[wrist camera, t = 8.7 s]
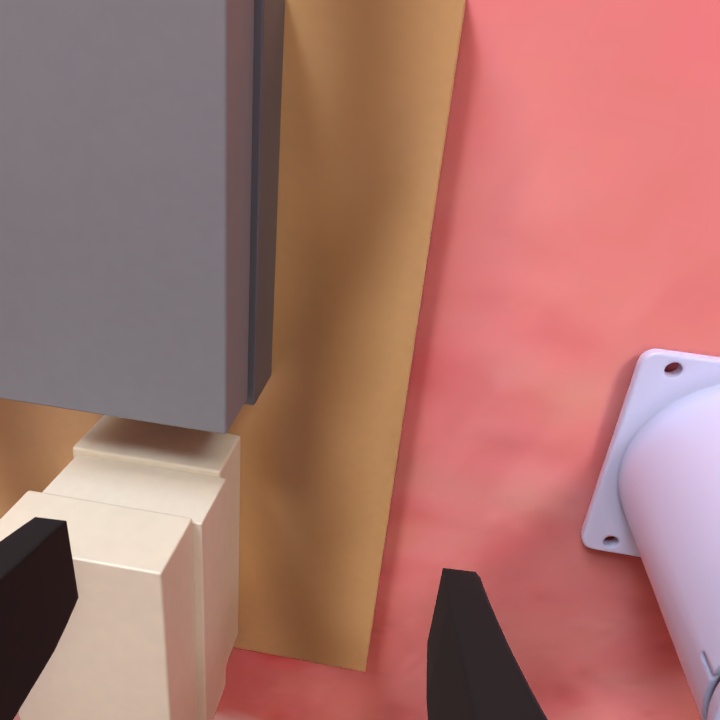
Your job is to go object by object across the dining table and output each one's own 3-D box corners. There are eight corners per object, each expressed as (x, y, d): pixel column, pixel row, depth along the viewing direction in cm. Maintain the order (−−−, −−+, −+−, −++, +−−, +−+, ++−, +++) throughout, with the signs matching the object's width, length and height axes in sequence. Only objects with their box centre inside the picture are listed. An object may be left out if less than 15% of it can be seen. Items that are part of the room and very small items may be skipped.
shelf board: (467, -9, 16) (468, -14, 15) (368, 648, 27) (365, 672, 26) (-106, -66, 17) (-142, -74, 16) (24, 585, 29) (7, 606, 28)
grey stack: (286, -17, 16) (236, -39, 12) (271, 376, 21) (233, 442, 17) (14, -45, 16) (-110, -73, 13) (64, 344, 21) (-15, 403, 18)
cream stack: (247, 435, 22) (201, 518, 18) (243, 637, 26) (206, 738, 22) (104, 412, 22) (29, 489, 18) (125, 615, 27) (69, 711, 23)
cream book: (193, 517, 18) (161, 574, 16) (199, 733, 22) (174, 799, 20) (28, 488, 18) (-23, 540, 16) (67, 707, 23) (30, 768, 21)
